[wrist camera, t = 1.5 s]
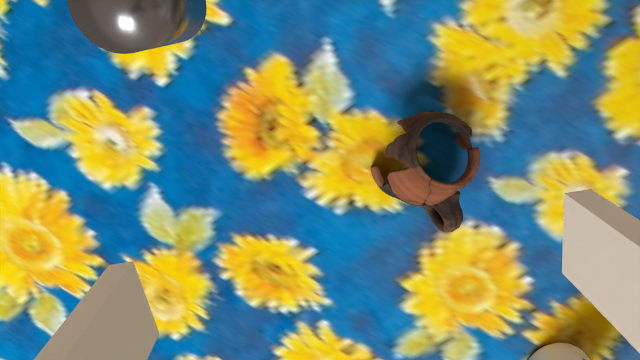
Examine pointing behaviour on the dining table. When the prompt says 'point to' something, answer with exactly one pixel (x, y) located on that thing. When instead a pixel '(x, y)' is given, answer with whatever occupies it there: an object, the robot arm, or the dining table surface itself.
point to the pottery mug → (414, 180)
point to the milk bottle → (559, 352)
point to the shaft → (137, 22)
